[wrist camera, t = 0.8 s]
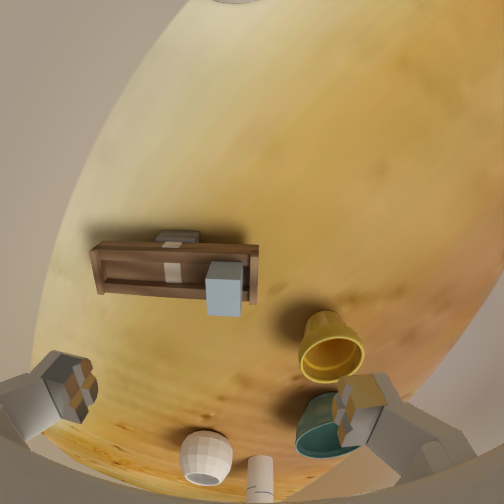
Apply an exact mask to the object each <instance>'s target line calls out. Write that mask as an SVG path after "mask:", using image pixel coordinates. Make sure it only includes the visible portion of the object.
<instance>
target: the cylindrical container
mask: <svg viewBox="0 0 504 504" xmlns="http://www.w3.org/2000/svg"><path fill="white" fill-rule="evenodd" d="M246 503H273V459H272V458H271V457H269V456H266V455H256V456H252V457H250V458H249V459H248V475H247V498H246Z"/></svg>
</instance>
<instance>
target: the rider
mask: <svg viewBox="0 0 504 504" xmlns="http://www.w3.org/2000/svg"><path fill="white" fill-rule="evenodd" d="M205 282H206V300H207V315H215V316H236V317H240V313H241V304H242V287H243V262H219V261H212V262H211V265H210V267H209V270H208V273H207V276H206V278H205Z"/></svg>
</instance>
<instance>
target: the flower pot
mask: <svg viewBox="0 0 504 504" xmlns="http://www.w3.org/2000/svg"><path fill="white" fill-rule="evenodd" d="M336 394H337V393H335V392H332V393H325V394H322V395H319V396H317V397H315V398H314V399H312V400H311V401H310V402H309V404H308V406H307V409H306V410H305V412H304V413H303V415H302V416H301V418H300V420H299V423H298V426H297V431H296V442H295V448H296V450H297V452H298V453H300V454H301V455H303V456H306V457H309V458H317V459H324V458H333V457H338V456H342V455H345V454H348V453H350V452H352V451H354V450H356V449H358V448H359V447H361V446H362V445H359V446H350V447H341V445H340V441H339V438H338V434H337V431H338V428H339V426H338V425H337V424H336V423H334V420H333V415H332V403H333V398H334V395H336Z"/></svg>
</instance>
